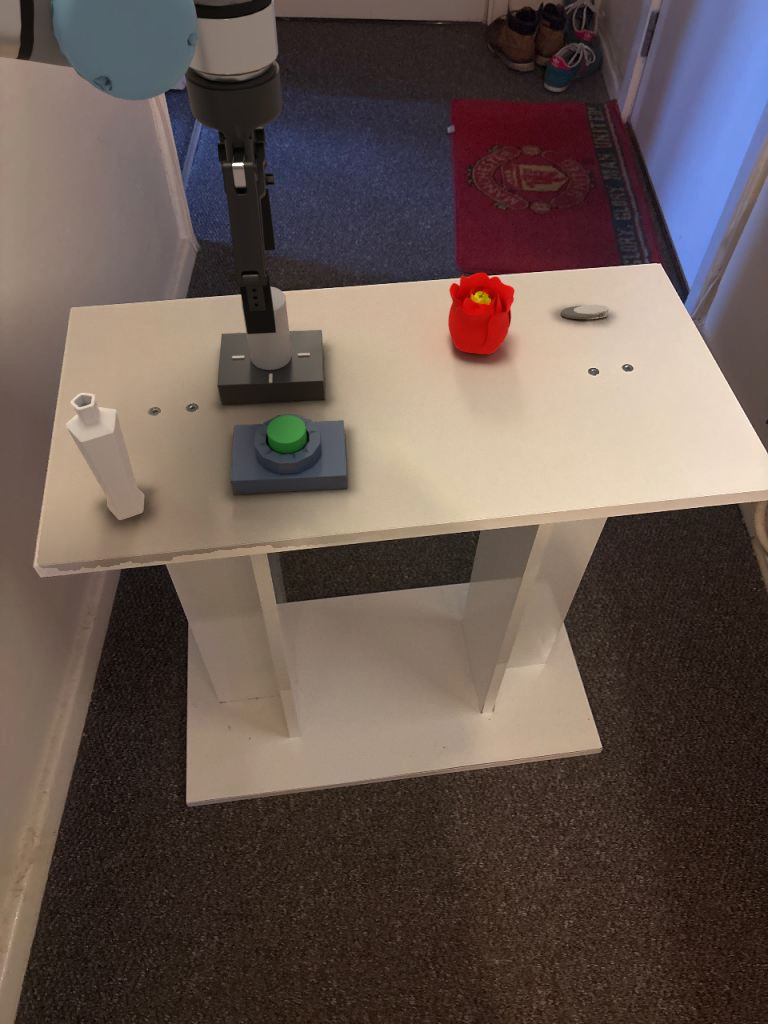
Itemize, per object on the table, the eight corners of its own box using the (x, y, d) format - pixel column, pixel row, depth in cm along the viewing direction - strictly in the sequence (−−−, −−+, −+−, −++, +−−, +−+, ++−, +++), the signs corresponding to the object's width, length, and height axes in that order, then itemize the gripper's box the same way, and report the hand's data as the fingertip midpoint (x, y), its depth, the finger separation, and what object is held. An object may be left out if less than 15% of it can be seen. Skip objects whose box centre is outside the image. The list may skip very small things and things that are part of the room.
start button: (268, 455, 78) (266, 444, 76) (269, 427, 80) (267, 415, 79) (307, 453, 78) (305, 442, 77) (306, 425, 80) (305, 414, 79)
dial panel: (221, 404, 87) (216, 384, 85) (225, 352, 93) (221, 332, 90) (324, 399, 88) (323, 379, 85) (322, 348, 93) (321, 328, 91)
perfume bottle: (143, 481, 80) (103, 376, 68) (154, 511, 78) (114, 407, 66) (100, 495, 79) (51, 391, 67) (109, 526, 77) (61, 423, 65)
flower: (517, 340, 95) (528, 287, 88) (487, 375, 91) (495, 321, 85) (463, 317, 97) (470, 264, 91) (432, 350, 94) (436, 296, 87)
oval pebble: (560, 322, 98) (561, 315, 97) (558, 310, 99) (560, 303, 98) (608, 321, 97) (610, 314, 96) (606, 309, 98) (607, 302, 98)
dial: (291, 369, 87) (285, 310, 80) (249, 371, 86) (239, 311, 80) (291, 341, 89) (285, 282, 83) (251, 343, 89) (241, 284, 83)
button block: (233, 494, 79) (227, 469, 76) (236, 438, 84) (231, 413, 81) (347, 488, 80) (346, 463, 77) (344, 433, 85) (343, 408, 82)
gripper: (192, 1, 67) (228, 220, 84) (170, 141, 52) (220, 373, 69) (277, 0, 67) (296, 217, 84) (279, 138, 52) (302, 369, 69)
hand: (262, 287), depth 76 cm, fingers open, 13 cm apart
